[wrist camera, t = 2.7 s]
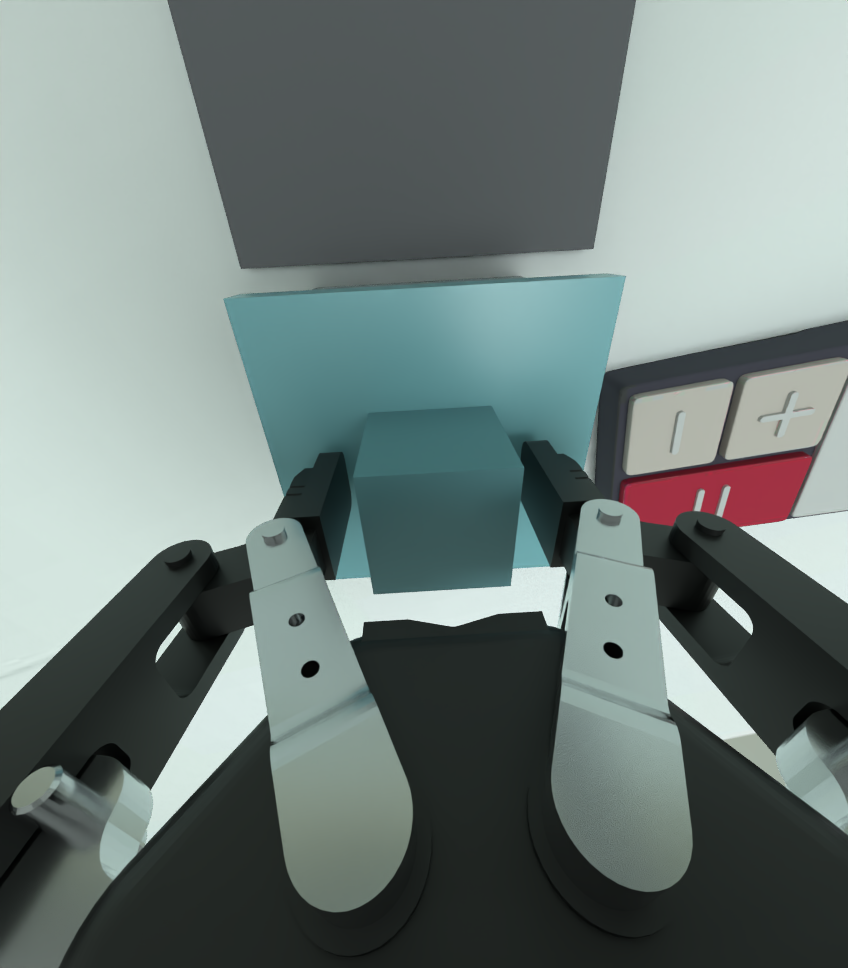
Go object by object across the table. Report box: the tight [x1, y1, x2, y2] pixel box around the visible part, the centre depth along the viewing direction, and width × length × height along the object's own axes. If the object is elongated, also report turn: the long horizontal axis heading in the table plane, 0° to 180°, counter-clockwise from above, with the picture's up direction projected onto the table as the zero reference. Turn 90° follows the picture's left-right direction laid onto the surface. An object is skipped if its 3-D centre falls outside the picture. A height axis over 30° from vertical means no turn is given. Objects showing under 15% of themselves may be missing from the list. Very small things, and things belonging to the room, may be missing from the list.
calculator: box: [595, 321, 848, 527], centre depth 22 cm, size 11×4×15 cm
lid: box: [224, 274, 626, 594], centre depth 12 cm, size 11×11×7 cm
